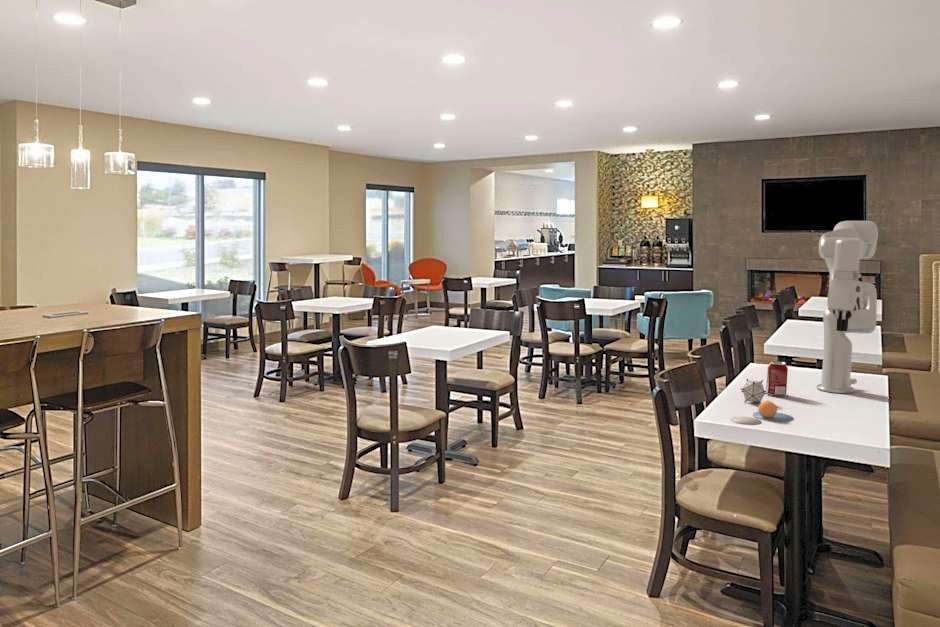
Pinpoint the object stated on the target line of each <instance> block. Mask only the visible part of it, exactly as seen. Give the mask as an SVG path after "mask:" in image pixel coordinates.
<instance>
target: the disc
mask: <svg viewBox="0 0 940 627" xmlns="http://www.w3.org/2000/svg"><path fill="white" fill-rule="evenodd" d="M752 416H753V418H755V419H758V420H763V421H767V420H768V421H770V422H776V421H779V422H780V423H781V422H783V421H785V422H783V423H786V421H787V422H791V420H792V421H793V420H794V417H793V416H792V415H790V414H786V413H782V412H777V413H776V415H775V416H774V417H772V418H764V417H762V416H761V415H760V414H759V411H756V412H754V413H752ZM768 421H767V422H768ZM779 422H778V423H779Z"/></svg>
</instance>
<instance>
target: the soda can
mask: <svg viewBox="0 0 940 627" xmlns="http://www.w3.org/2000/svg"><path fill="white" fill-rule="evenodd" d="M766 369H767V370H766V371H767V372H766V387H765V389H766V390H765V391H767V392H765V393H767V394H766V395H768V396H770V395H772V396H771V397H775V396H782V397H784V396H786V395H787V388H788V371H789V370H788V366H787V362H785V361H775V360H774V361H769V364H768V365H767V368H766Z"/></svg>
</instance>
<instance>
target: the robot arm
mask: <svg viewBox="0 0 940 627" xmlns="http://www.w3.org/2000/svg"><path fill="white" fill-rule="evenodd" d="M878 237H879V228H878V226H877V224H876V223H875V221H871V220H844V221H843V220H842V221H839V222H838V223H837V224H835V226H834V228H833V230H832V231H827V232H825V233H823V234H821V237H820V238H819V241H818V242H819V243H818V254H819V256H820V257H821V259H823V260H824V261H825V263H826V266H827V269H828V272H829V284H828V292H827V298H826V299H827V301H826V303H827V308H826V309H825V310H824V312H823V315H822V321H823V334H824V335H823V338H824V339H823V354H822V369H821V371H822V372H821V383H818V384H816V389H817V390H820V391H822V392H828V393H834V394H852V393H854V392H855V388H854V387H852V386H851V385H856V384H857V383H858V380H857V379H856V378H852V377H851V373H852V372H851V371H852V370H851V369H852V359H853V358H852V357H853V343H852V341H851V339H850V338H849V337H848V336H847V335H846V334H848V333H849V334H867V335H868V334H871V333H873V332H874V331H875V330H876V326H877V315H878V314H877V312H878V311H877V310H878V309H877V308H878V307H877V304H878V299H877V298H878V297H877V296H878V295H877V294H878V293H877V292H878V291H877V288H876V286H875V285H874V284H873V283H870V282H865V281H864V282H863V281H860V280H859V279H860V278H862V274H861V273H860V260H868V259H871V258H873V257H874V255H875V253H876V250H877V244H878Z"/></svg>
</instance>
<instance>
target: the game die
mask: <svg viewBox="0 0 940 627" xmlns="http://www.w3.org/2000/svg"><path fill="white" fill-rule="evenodd" d="M763 382H764V380H761V381H757V380H749V379H748V378H746V382H745V385H744V386H743V388H740V390H741V393H743V395H744V399H745V400H744V403H747V402H753V403H754V402H755V403H759V405H760V404H761V403H762V400H763V398H764V396H765V395H768V394H767V393H766V392H767V391H766V390H765V388H764V386H763Z"/></svg>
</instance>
